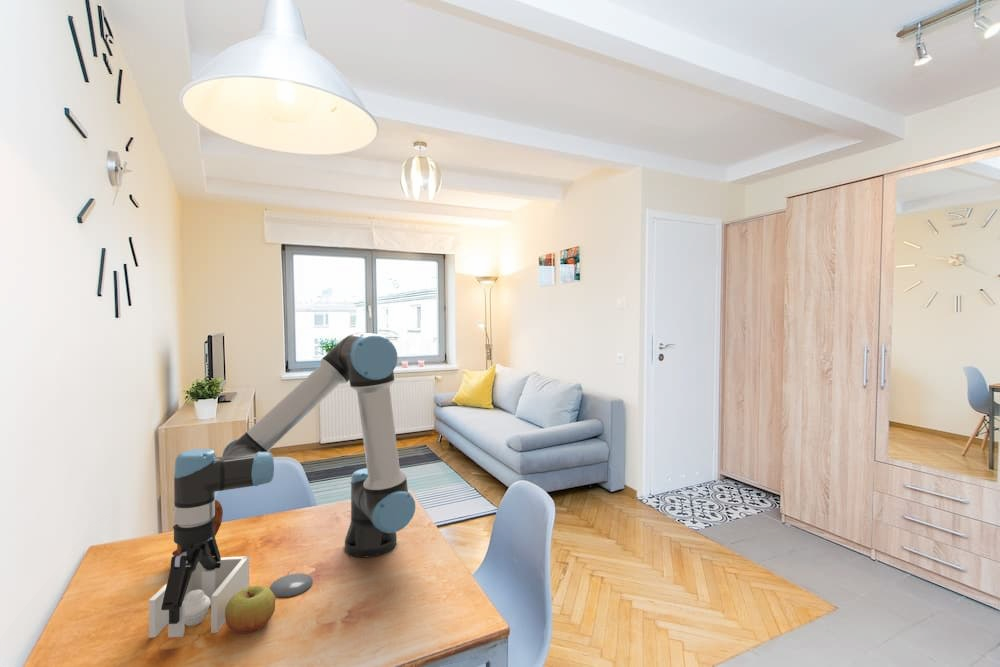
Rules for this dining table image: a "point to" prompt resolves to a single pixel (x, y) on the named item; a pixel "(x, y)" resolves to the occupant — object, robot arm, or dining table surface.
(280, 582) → the coaster
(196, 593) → the white rounded ribbed piece
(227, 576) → the cubby
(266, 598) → the apple
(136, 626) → the dining table surface
